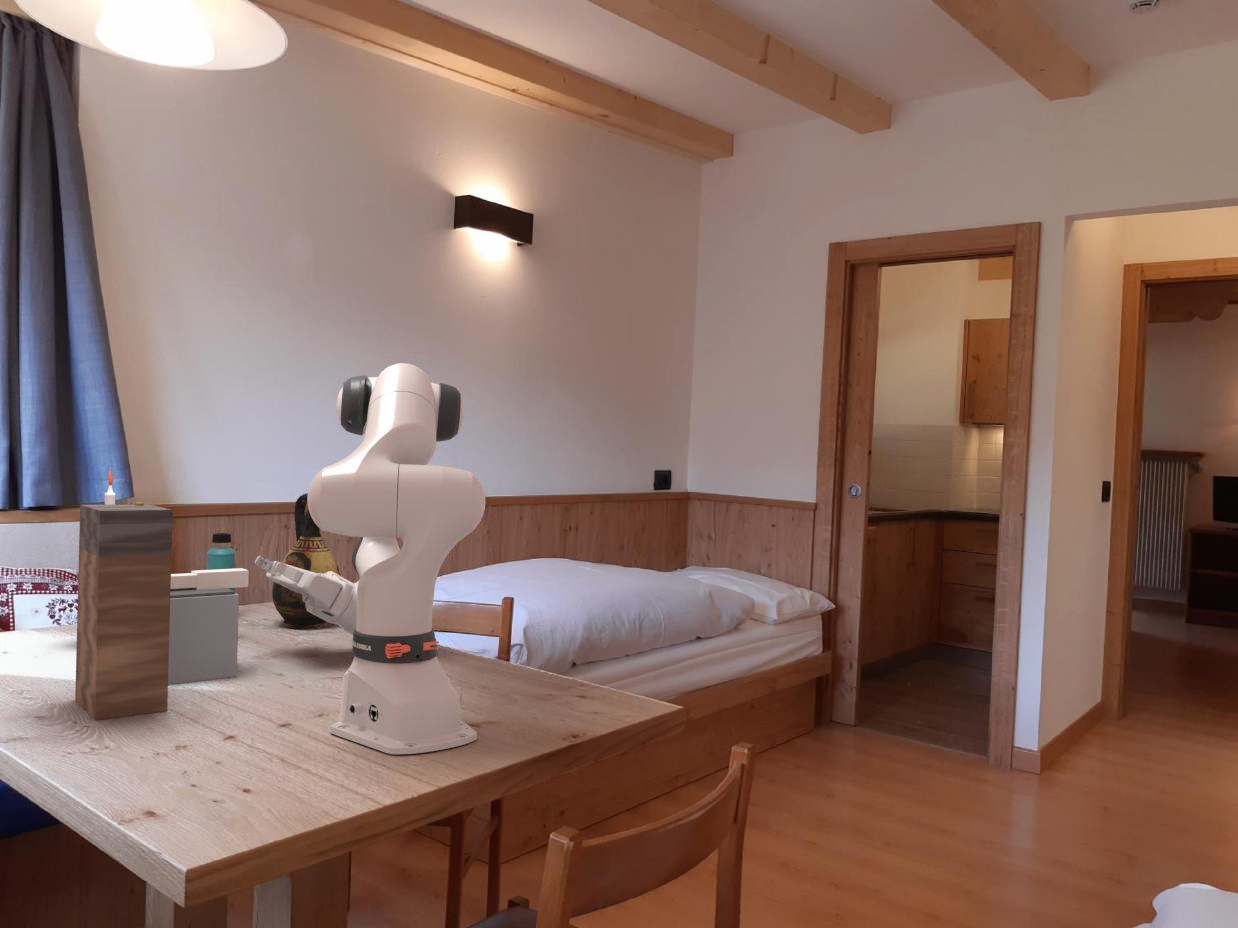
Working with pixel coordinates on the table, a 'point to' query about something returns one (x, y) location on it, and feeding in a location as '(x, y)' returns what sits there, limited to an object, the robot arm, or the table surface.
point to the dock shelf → (202, 634)
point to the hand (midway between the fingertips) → (266, 562)
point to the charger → (211, 579)
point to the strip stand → (123, 609)
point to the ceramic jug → (307, 556)
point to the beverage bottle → (221, 554)
